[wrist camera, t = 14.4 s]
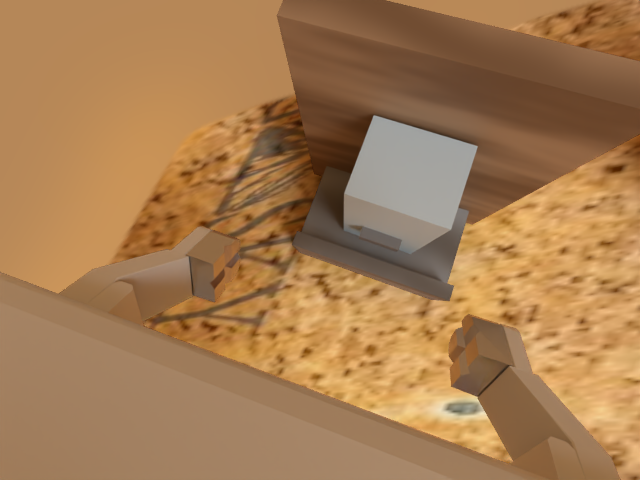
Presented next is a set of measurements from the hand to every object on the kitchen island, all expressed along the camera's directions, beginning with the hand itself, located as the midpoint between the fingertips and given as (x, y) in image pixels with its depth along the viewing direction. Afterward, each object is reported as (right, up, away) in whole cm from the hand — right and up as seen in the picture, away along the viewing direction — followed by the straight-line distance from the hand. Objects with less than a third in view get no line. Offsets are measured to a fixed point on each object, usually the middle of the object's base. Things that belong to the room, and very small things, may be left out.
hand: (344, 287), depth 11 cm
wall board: (+5, +3, +19) cm, 20 cm away
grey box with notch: (+5, +4, +16) cm, 17 cm away
